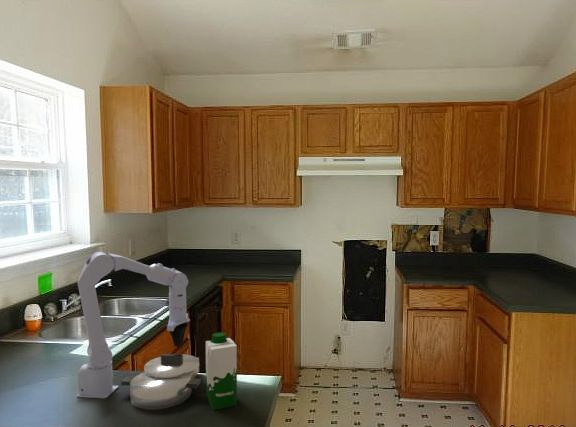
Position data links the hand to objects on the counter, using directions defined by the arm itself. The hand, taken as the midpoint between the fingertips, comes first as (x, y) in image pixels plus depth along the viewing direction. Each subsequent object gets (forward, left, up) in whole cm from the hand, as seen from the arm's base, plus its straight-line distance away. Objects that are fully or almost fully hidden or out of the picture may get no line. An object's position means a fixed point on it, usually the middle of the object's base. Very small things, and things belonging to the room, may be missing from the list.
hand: (178, 345), depth 147 cm
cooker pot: (0, -10, -10) cm, 15 cm away
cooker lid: (0, -6, -5) cm, 8 cm away
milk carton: (+20, -18, -11) cm, 29 cm away
